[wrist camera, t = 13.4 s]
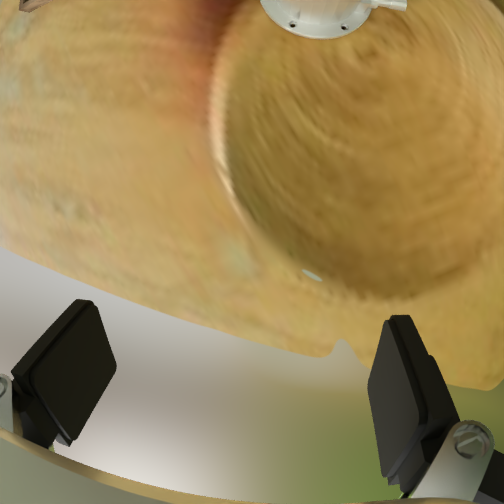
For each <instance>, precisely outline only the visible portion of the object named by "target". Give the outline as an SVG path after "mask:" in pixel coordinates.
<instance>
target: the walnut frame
mask: <svg viewBox="0 0 504 504" xmlns="http://www.w3.org/2000/svg"><path fill="white" fill-rule="evenodd" d="M50 1H52V0H20V5H19V10H20V11H25V12H31V11H33V10H35V9H37V8H38V7H40V6H42V5H44V4H46V3H48V2H50Z"/></svg>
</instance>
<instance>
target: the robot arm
mask: <svg viewBox="0 0 504 504" xmlns="http://www.w3.org/2000/svg"><path fill="white" fill-rule="evenodd" d="M260 2H261V4H262V6H263V8H264V10H265V12H266V13H267V14H268V16H269V17H270V18H271V19H272V20H273V21H274V22H275V23H276V24H277V25H279V26H280V27H282V28H283V29H285V30H287V31H289V32H291V33H293V34H295V35H298V36H302V37H305V38H311V39H334V38H339V37H342V36H345V35H347V34H350V33H351V32H353V31H355V30H356V29H358V28H359V27H360V26H361V25H362V24H363V23H364V22H365V20H366V19H367V18H368V16H369V14H370V12H371V10H372V8H374V9H376V8H377V7H378V6H382V7H388V8H389V9H395V10H400V11H405V10H406V7H407V0H260ZM291 25H295V27H294V28H292V27H290V26H291ZM341 27H344V28H345V29H346V30H342V28H341ZM116 367H117V365H116V361H115V358H114V355H113V353H112V350H111V347H110V344H109V341H108V338H107V335H106V332H105V329H104V326H103V323H102V320H101V317H100V314H99V310H98V308H97V306H95V305H94V303H93V302H92V301H90V300H82V299H76V300H75V301H74V302H73V303H72V304H71V305H70V306H69V307H68V308H67V309H66V310H65V311H64V312H63V313H62V314H61V315H60V316H59V318H58V319H57V320H56V321H55V322H54V323H53V324H52V325H51V326H50V327H49V328H48V329H47V330H46V332H45V333H44V334H43V335H42V336H41V337H40V338H39V339H38V340H37V342H36V343H35V344H34V345H33V346H32V347H31V348H30V349H29V350H28V352H27V353H26V354H25V355H24V356H23V357H22V359H21V360H20V361H19V362H18V363H17V365H16V366H15V367H14V368H13V369H12V370H11V373H12V375H13V376H14V379H13V381H11V379H10V378H9V377H8V376H7V375H5V374H0V504H270V503H254V502H244V501H235V500H226V499H219V498H212V497H206V496H199V495H194V494H188V493H183V492H177V491H173V490H168V489H164V488H160V487H156V486H152V485H148V484H143V483H140V482H136V481H133V480H129V479H126V478H123V477H119V476H116V475H113V474H110V473H107V472H104V471H101V470H98V469H95V468H92V467H90V466H87V465H84V464H82V463H79V462H76V461H74V460H71V459H69V458H66V457H64V456H62V455H59V454H57V453H55V450H54V445H53V442H54V440H55V439H56V441H57V442H59V443H61V444H63V445H66V446H68V447H70V445H71V443H72V441H73V440H76V439H77V438H78V436H79V435H80V433H81V431H82V429H83V427H84V426H85V424H86V422H87V420H88V418H89V417H90V415H91V413H92V411H93V409H94V408H95V406H96V404H97V403H98V401H99V399H100V398H101V396H102V394H103V392H104V391H105V389H106V387H107V386H108V384H109V382H110V380H111V379H112V377H113V375H114V374H115V372H116ZM368 395H369V400H370V406H371V411H372V417H373V422H374V428H375V434H376V440H377V446H378V452H379V459H380V466H381V473H382V476H383V477H387V478H388V485H395V484H400V490H401V491H402V492H403V493H402V495H401V496H400V497H399V499H396V500H385V501H372V502H361V503H348V504H504V454H502V453H500V452H498V451H496V450H494V445H495V444H494V437H493V435H492V433H491V431H490V430H489V429H488V428H487V426H485V425H484V424H482V423H480V422H478V421H474V420H464V421H460V419H459V416H458V413H457V411H456V408H455V406H454V403H453V401H452V398H451V396H450V393H449V391H448V389H447V386H446V384H445V381H444V379H443V377H442V374H441V372H440V370H439V367H438V365H437V363H436V361H435V359H434V357H433V356H431V355H428V352H427V350H426V348H425V346H424V344H423V341H422V339H421V337H420V335H419V333H418V331H417V329H416V327H415V325H414V322H413V320H412V318H411V317H410V315H392V316H391V317H390V319H389V320H385V322H384V324H383V328H382V332H381V336H380V340H379V344H378V348H377V352H376V355H375V359H374V363H373V366H372V370H371V373H370V377H369V380H368ZM346 504H347V503H346Z"/></svg>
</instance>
